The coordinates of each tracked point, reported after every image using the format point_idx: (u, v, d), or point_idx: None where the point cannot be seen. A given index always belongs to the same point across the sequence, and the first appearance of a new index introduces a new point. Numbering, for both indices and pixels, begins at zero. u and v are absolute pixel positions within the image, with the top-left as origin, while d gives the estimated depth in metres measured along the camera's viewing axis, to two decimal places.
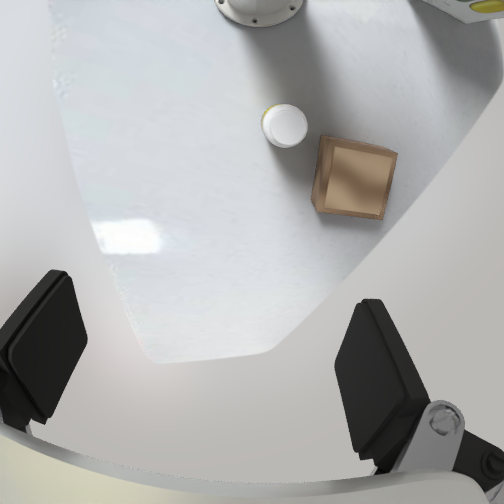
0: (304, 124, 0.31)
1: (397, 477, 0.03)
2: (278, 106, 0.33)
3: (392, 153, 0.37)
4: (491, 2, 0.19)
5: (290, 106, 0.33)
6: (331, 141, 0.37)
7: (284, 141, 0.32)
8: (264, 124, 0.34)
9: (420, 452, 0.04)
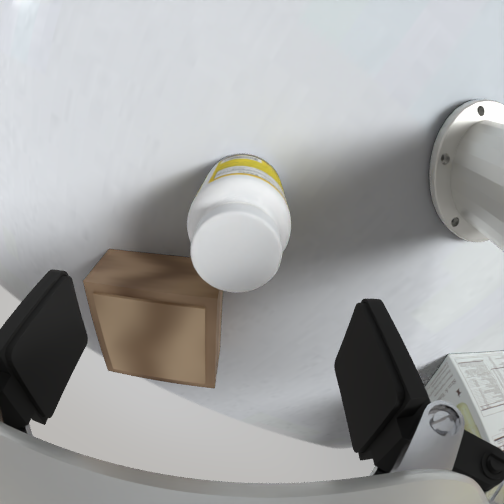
0: (246, 289, 0.14)
1: (397, 477, 0.03)
2: (286, 214, 0.15)
3: (212, 382, 0.25)
4: None
5: (286, 240, 0.16)
6: (214, 302, 0.20)
7: (198, 247, 0.13)
8: (240, 182, 0.14)
9: (420, 452, 0.04)
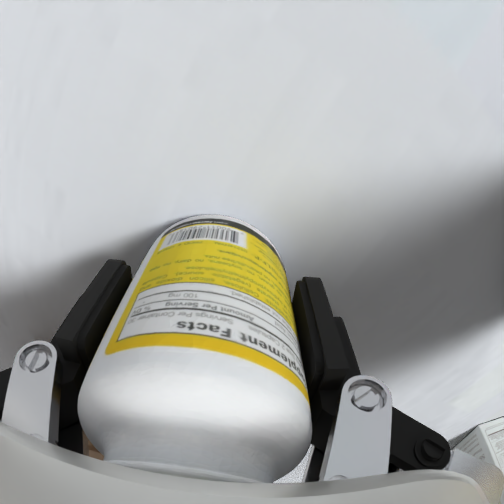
0: None
1: (397, 476, 0.03)
2: (304, 432, 0.05)
3: None
4: None
5: (299, 461, 0.06)
6: None
7: None
8: (175, 391, 0.04)
9: (349, 434, 0.05)
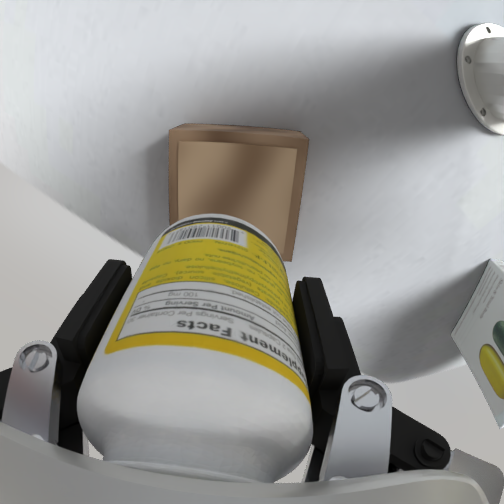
0: None
1: (396, 476, 0.03)
2: (305, 432, 0.05)
3: (290, 252, 0.25)
4: (503, 374, 0.24)
5: None
6: (305, 143, 0.21)
7: None
8: (175, 390, 0.04)
9: (349, 434, 0.05)
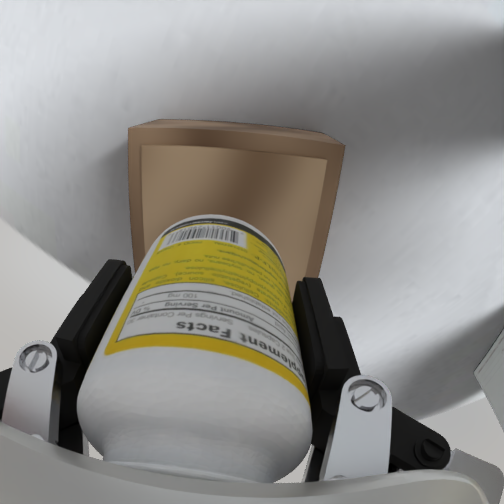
0: None
1: (397, 476, 0.03)
2: (305, 433, 0.05)
3: None
4: None
5: None
6: (340, 151, 0.13)
7: None
8: (175, 392, 0.04)
9: (349, 434, 0.05)
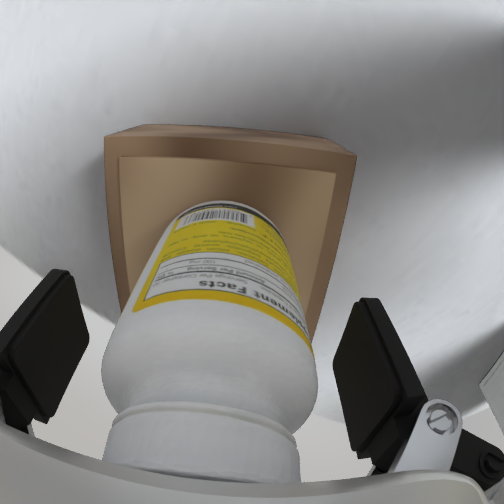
0: None
1: (397, 477, 0.03)
2: (311, 382, 0.06)
3: (310, 336, 0.15)
4: None
5: (306, 417, 0.07)
6: (350, 162, 0.11)
7: None
8: (200, 334, 0.05)
9: (418, 451, 0.04)
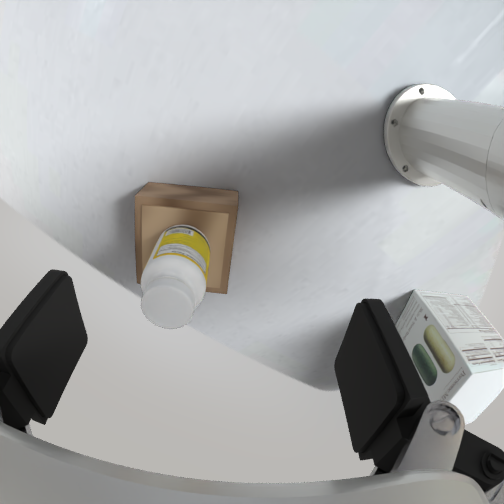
0: (175, 327, 0.23)
1: (397, 476, 0.03)
2: (201, 280, 0.24)
3: (225, 287, 0.33)
4: None
5: (202, 295, 0.24)
6: (235, 209, 0.29)
7: (145, 303, 0.21)
8: (171, 262, 0.23)
9: (420, 452, 0.04)
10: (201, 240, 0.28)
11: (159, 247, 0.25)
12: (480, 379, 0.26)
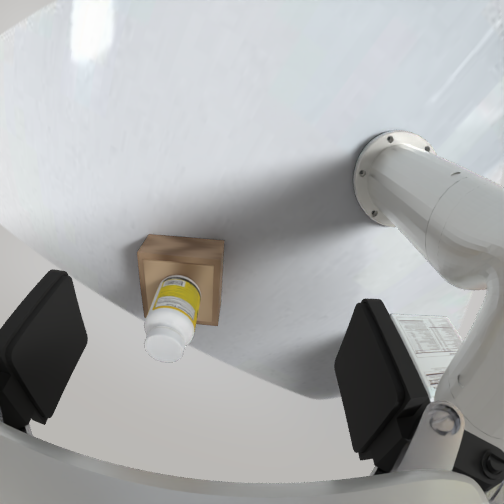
0: (170, 361, 0.29)
1: (397, 476, 0.03)
2: (189, 326, 0.30)
3: (216, 321, 0.39)
4: None
5: (191, 337, 0.31)
6: (219, 262, 0.35)
7: (147, 345, 0.28)
8: (165, 314, 0.29)
9: (420, 452, 0.04)
10: (191, 289, 0.34)
11: (157, 298, 0.32)
12: None
